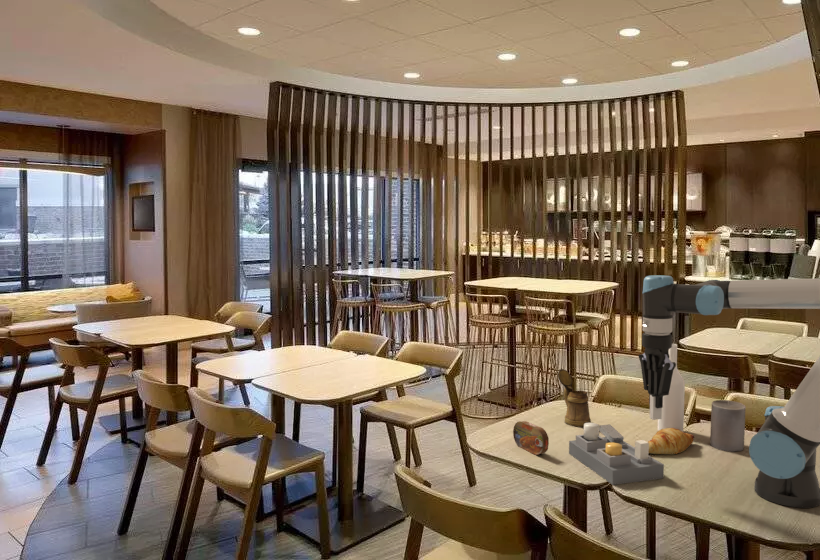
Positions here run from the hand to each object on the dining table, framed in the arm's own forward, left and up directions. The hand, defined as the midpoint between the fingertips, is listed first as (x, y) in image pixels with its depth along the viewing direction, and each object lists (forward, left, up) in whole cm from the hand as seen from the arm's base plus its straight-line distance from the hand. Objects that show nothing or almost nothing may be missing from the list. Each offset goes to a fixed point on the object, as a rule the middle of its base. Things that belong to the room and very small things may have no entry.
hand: (655, 418), depth 172 cm
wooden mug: (+53, -5, -18) cm, 57 cm away
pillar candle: (+17, -39, -18) cm, 47 cm away
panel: (+13, +4, -18) cm, 23 cm away
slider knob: (+6, 0, -14) cm, 15 cm away
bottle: (+34, -31, -18) cm, 50 cm away
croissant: (+21, -20, -18) cm, 34 cm away
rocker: (+21, 0, -12) cm, 24 cm away
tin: (+31, +22, -18) cm, 43 cm away
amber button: (+7, +8, -13) cm, 17 cm away
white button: (+19, +8, -11) cm, 24 cm away
